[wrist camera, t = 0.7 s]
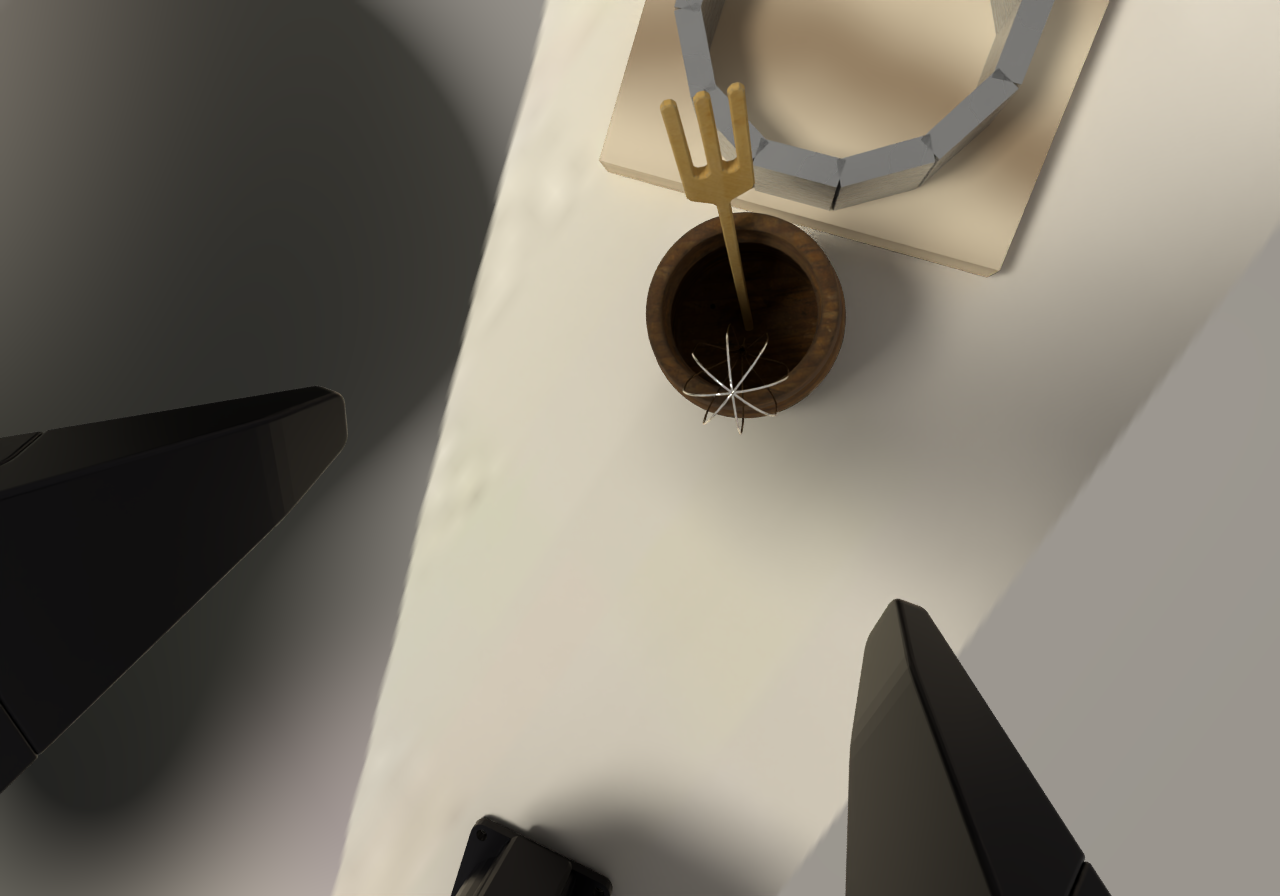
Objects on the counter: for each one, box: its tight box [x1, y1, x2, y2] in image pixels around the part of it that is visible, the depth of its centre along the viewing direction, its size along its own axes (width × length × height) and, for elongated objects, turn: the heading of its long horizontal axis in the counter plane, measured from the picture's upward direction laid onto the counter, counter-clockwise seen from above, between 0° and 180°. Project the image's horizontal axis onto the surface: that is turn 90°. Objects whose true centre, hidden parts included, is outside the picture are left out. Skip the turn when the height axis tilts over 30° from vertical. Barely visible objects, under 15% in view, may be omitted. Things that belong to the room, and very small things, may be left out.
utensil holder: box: [646, 82, 846, 435], centre depth 17 cm, size 6×6×12 cm
